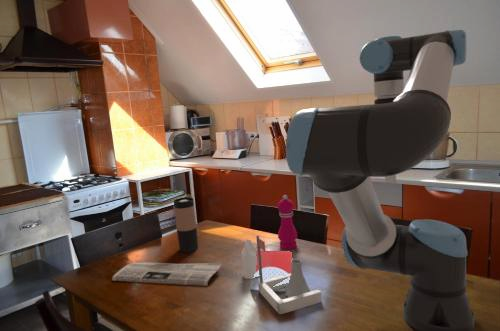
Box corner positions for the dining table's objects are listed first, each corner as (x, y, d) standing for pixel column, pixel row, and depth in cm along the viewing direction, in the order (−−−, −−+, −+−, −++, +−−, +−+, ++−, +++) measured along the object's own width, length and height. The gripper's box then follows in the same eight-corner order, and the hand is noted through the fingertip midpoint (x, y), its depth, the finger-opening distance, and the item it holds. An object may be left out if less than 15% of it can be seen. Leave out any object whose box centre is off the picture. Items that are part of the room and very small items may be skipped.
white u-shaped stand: (321, 302, 101) (318, 242, 98) (279, 314, 96) (275, 252, 94) (296, 281, 114) (293, 227, 111) (258, 291, 109) (254, 235, 107)
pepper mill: (276, 249, 139) (273, 197, 136) (280, 242, 146) (277, 192, 143) (296, 250, 137) (292, 197, 134) (299, 243, 144) (296, 192, 141)
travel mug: (177, 248, 149) (171, 199, 146) (195, 243, 152) (190, 196, 149) (182, 254, 142) (176, 203, 139) (201, 249, 145) (195, 199, 142)
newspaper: (112, 282, 124) (111, 272, 124) (133, 266, 136) (132, 256, 136) (211, 287, 115) (210, 276, 114) (224, 269, 127) (223, 260, 126)
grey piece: (253, 243, 115) (236, 242, 117) (256, 280, 116) (239, 278, 118) (259, 236, 120) (243, 235, 122) (262, 271, 122) (246, 270, 124)
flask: (308, 287, 110) (307, 255, 108) (313, 300, 102) (311, 265, 101) (284, 289, 110) (282, 256, 108) (286, 302, 102) (284, 267, 101)
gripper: (397, 96, 107) (398, 177, 110) (360, 99, 102) (362, 184, 106) (418, 94, 100) (418, 181, 104) (379, 98, 95) (381, 188, 99)
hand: (390, 182), depth 105 cm, fingers closed
